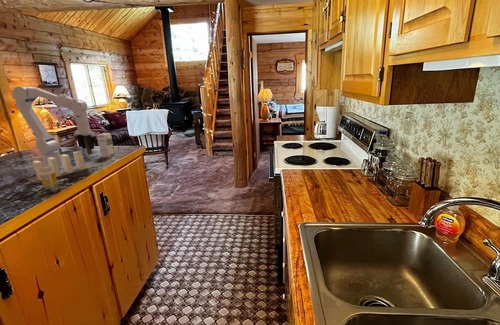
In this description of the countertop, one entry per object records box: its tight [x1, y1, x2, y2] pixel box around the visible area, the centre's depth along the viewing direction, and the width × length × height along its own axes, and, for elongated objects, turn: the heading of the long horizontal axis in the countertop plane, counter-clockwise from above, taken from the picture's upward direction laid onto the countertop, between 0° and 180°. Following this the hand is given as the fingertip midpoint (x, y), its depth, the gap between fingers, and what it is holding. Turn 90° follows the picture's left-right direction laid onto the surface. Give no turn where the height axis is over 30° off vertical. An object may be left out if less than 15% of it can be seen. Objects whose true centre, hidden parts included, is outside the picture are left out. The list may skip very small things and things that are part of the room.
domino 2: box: [47, 157, 62, 178], centre depth 132 cm, size 2×5×9 cm, turn 57°
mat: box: [25, 160, 105, 184], centre depth 140 cm, size 12×33×1 cm, turn 147°
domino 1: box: [31, 159, 44, 180], centre depth 127 cm, size 2×5×9 cm, turn 57°
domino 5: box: [84, 138, 93, 156], centre depth 144 cm, size 2×5×9 cm, turn 36°
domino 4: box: [72, 151, 86, 171], centre depth 141 cm, size 2×5×9 cm, turn 57°
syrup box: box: [96, 132, 116, 158], centre depth 165 cm, size 6×6×14 cm
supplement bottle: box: [40, 165, 59, 190], centre depth 118 cm, size 5×5×10 cm
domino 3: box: [60, 153, 74, 174], centre depth 137 cm, size 2×5×9 cm, turn 57°
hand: (88, 148), depth 145 cm, fingers closed on domino 5, 5 cm apart
